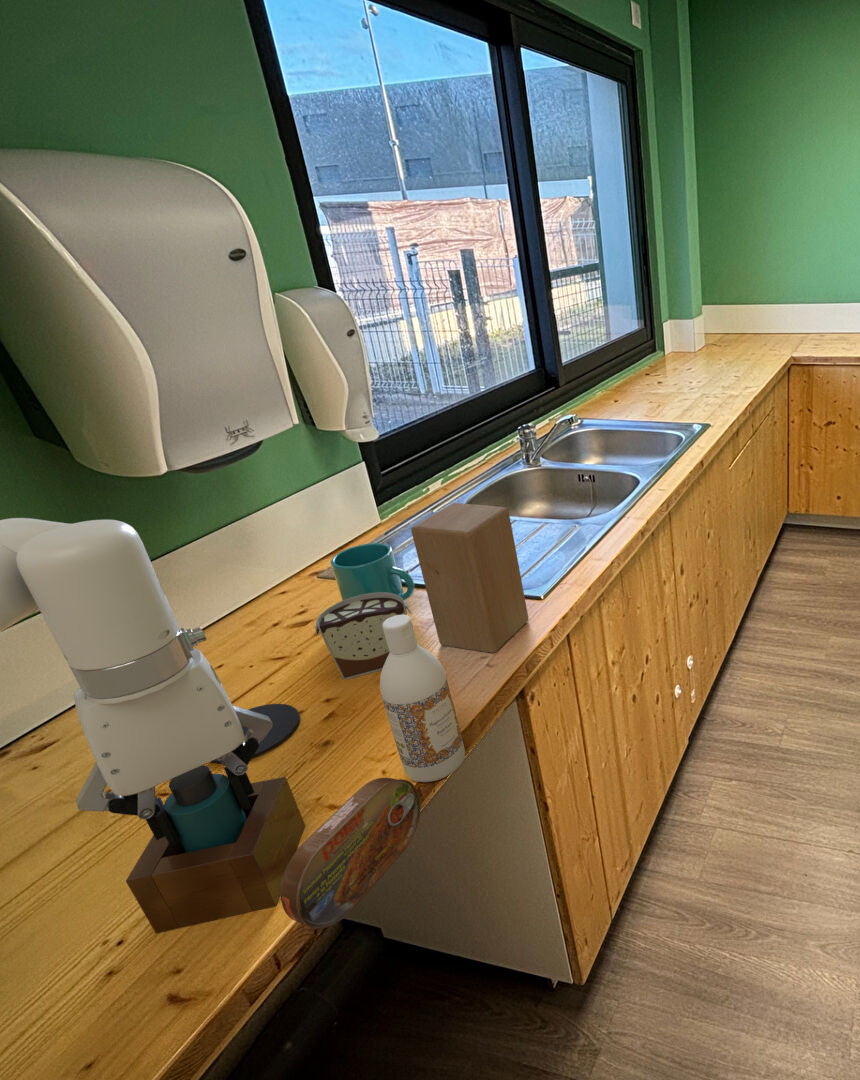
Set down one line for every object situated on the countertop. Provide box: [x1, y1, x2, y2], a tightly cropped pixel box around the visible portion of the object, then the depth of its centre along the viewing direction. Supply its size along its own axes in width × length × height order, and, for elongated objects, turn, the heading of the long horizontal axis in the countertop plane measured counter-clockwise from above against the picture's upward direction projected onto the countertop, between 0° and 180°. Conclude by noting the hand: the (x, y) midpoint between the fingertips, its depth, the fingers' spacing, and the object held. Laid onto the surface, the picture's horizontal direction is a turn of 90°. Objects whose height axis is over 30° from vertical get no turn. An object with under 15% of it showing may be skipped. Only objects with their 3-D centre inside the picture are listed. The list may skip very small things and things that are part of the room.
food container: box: [314, 592, 412, 681], centre depth 102 cm, size 12×6×10 cm, turn 116°
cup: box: [330, 542, 415, 603], centre depth 114 cm, size 9×12×11 cm
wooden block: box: [410, 502, 529, 654], centre depth 106 cm, size 10×10×20 cm
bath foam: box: [379, 614, 466, 783], centre depth 80 cm, size 7×7×20 cm
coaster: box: [210, 703, 301, 765], centre depth 90 cm, size 11×11×1 cm
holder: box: [125, 776, 306, 934], centre depth 69 cm, size 10×10×7 cm
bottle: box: [163, 764, 247, 853], centre depth 68 cm, size 5×5×13 cm
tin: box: [279, 777, 422, 930], centre depth 68 cm, size 15×3×8 cm, turn 161°
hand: (209, 817), depth 67 cm, fingers closed on bottle, 5 cm apart
